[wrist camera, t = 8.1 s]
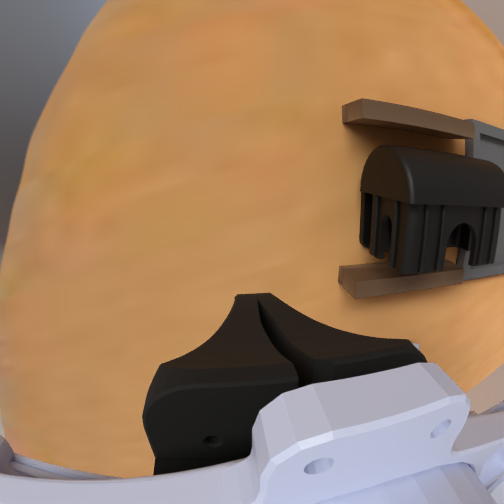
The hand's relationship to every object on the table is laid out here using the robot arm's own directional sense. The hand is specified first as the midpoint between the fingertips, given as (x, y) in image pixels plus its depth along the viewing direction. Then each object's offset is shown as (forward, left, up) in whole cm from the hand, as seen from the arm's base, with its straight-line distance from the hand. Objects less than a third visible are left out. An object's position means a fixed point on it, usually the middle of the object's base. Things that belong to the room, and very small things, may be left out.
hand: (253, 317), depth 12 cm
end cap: (+3, -13, -9) cm, 16 cm away
